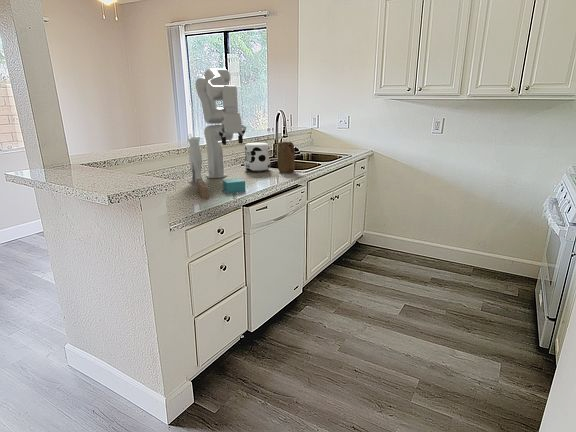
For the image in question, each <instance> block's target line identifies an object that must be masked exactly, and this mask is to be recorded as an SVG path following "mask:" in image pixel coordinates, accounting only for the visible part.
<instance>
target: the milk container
mask: <svg viewBox="0 0 576 432" xmlns="http://www.w3.org/2000/svg"><path fill="white" fill-rule="evenodd" d="M244 146H245V148H244V150H245V152H244V153H245V157H244V169H245V170H246V171H247V172H252V173H260V172H267V171H268V170H269V169H270V167H271V160H270V158H269V157H270V154H269V153H270V151H269V144H268V143H266V142H248V143H245V144H244Z"/></svg>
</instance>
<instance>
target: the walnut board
mask: <svg viewBox="0 0 576 432" xmlns="http://www.w3.org/2000/svg"><path fill="white" fill-rule="evenodd" d="M202 179H203V178H202ZM202 179H196V183H197V184H196V191H197V192H198V194H199V195H200V197H201V198H202V200H204V199H210V198H209V197H210V196H209V194H210V193H209V186H208V185H207V184H206V182H205V181H204V179H203V180H202Z"/></svg>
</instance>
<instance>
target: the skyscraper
mask: <svg viewBox="0 0 576 432" xmlns="http://www.w3.org/2000/svg"><path fill="white" fill-rule="evenodd" d="M189 137H190V138H189ZM200 140H201V137H200V136H192V134H191V133H189V134H188V136H187V141H188V143H189V146H188V147H189V148H188V160H189V166H190V170H191V174H192V176H191V180H190V181H188V183H189V184H192V185H197V183H196V179H202V180H203V181H204V179H203V176H202V173H201V172H202V168H203V167H202V166H203V156H202V150H201V146H200Z"/></svg>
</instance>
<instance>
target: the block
mask: <svg viewBox="0 0 576 432" xmlns="http://www.w3.org/2000/svg"><path fill="white" fill-rule="evenodd" d="M295 154H296V152H295V146H294V143H293V141H279V142H278V143H277V169H278V171H279V173H282V174H292V173H295V169H296V168H295V167H296V166H295V165H296V163H295Z"/></svg>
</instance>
